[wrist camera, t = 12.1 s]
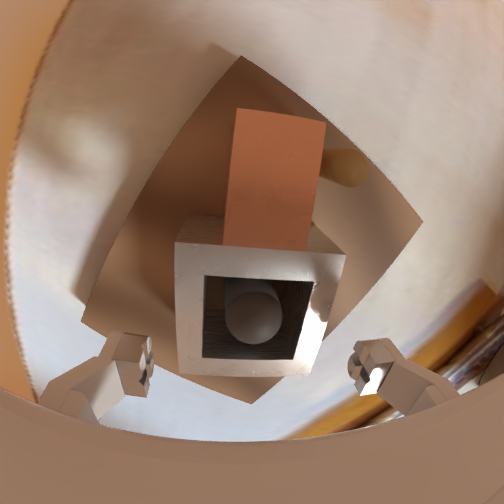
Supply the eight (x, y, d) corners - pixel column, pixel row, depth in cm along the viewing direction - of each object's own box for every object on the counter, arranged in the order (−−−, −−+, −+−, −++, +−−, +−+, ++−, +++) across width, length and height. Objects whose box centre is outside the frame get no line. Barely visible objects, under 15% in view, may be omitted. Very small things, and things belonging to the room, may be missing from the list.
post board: (249, 390, 20) (258, 455, 14) (88, 309, 16) (50, 370, 10) (410, 215, 16) (475, 250, 10) (239, 64, 12) (250, 11, 6)
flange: (292, 328, 16) (308, 375, 12) (186, 324, 15) (179, 372, 12) (329, 134, 12) (369, 133, 8) (196, 117, 11) (184, 104, 8)
